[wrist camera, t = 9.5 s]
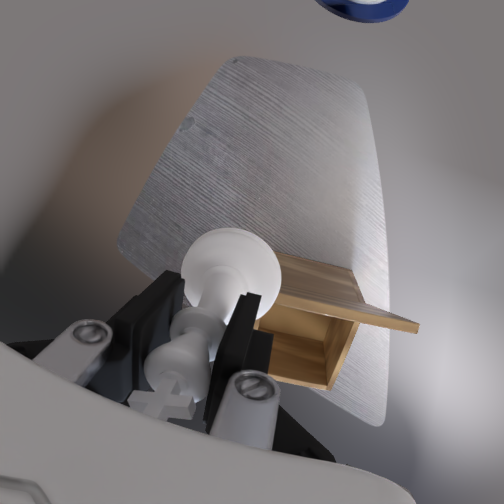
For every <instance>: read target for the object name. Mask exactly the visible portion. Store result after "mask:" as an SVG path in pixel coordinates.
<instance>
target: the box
mask: <svg viewBox="0 0 504 504" xmlns="http://www.w3.org/2000/svg"><path fill="white" fill-rule="evenodd" d="M273 252H274V254H275V255H276V257H277V260H278V262H279V265H280V269H281V284H283V285H287V286H292V287H296V288H300V289H304V290H309V291H313V292H317V293H321V294H326V295H330V296H334V297H339V298H343V299H348V300H352V301H356V302H361V303H365V301H364V298H363V296H362V293H361V291H360V289H359V286H358V284H357V281H356V279H355V277H354V274H353V272H352V270H350V269H346V268H342V267H338V266H333V265H329V264H325V263H321V262H317V261H313V260H309V259H304V258H300V257H296V256H292V255H288V254H284V253H280V252H275V251H273ZM365 304H366V303H365ZM359 324H360V323H359V322H354V321H349V320H345V319H340V318H336V317H331V316H326V315H322V314H318V313H313V312H309V311H304V310H300V309H296V308H291V307H287V306H283V305H279V304H274V303H273V305H272V306H271V308H270V309H269V310H268V311H267V312H266V313H265V314H264V315H263V316H262V317H260V318H259V319H257V320H255V324H254V328H253V329H256V330H260V331H264V332H268V333H272V334H274V338H273V344H272V350H271V357H270V363H269V369H268V375H269V376H271V377H272V378H273V379H275V380H277V381H282V382H287V383H291V384H296V385H301V386H306V387H312V388H317V389H323V390H329V391H331V389H332V387H333V385H334V383H335V380H336V378H337V376H338V374H339V372H340V369H341V367H342V365H343V363H344V360H345V358H346V356H347V353H348V351H349V349H350V346H351V344H352V341H353V339H354V337H355V334H356V332H357V329H358V327H359Z"/></svg>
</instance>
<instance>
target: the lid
mask: <svg viewBox="0 0 504 504" xmlns="http://www.w3.org/2000/svg"><path fill="white" fill-rule="evenodd" d="M274 304H279V305H283V306H287V307H291V308H296V309H300V310H304V311H309V312H313V313H318V314H322V315H326V316H331V317H336V318H340V319H345V320H349V321H354V322H359V323H364V324H369V325H373V326H378V327H383V328H388V329H393V330H398V331H404V332H409V333H415V334H417V333H418V329H419V326H420V324H419V323H416V322H413V321H411V320H408V319H405V318H403V317H400V316H398V315H395V314H392V313H390V312H387V311H385V310H382V309H379V308H377V307H374V306H372V305H369V304H365V303H361V302H356V301H352V300H348V299H343V298H339V297H334V296H330V295H326V294H321V293H317V292H313V291H309V290H304V289H300V288H296V287H292V286H287V285H283V284H281V287H280V291H279V293H278V296H277V298H276V300H275V301H274Z"/></svg>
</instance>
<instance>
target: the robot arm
mask: <svg viewBox="0 0 504 504" xmlns="http://www.w3.org/2000/svg"><path fill="white" fill-rule="evenodd" d="M349 1H352V2H355V3H360V4H378V3H381V2H384V1H386V0H349ZM184 288H185V279H183V278H181V274H179V273H175V272H172V271H168V270H166V271H165V272H164V273H162V274H161V275H160V276H159V277H158V278H157V279H156V280H155V281H154V282H153V283H152V284H151V285H149V286H148V287H147V288H146V289H145V290H144V291H143V292H142V293H141V294H140V295H139V296H137V295H136V296H134V297H133V298H132V299H131V300H130V301H129V302H128V303H126V304H125V305H124V306H123V307H122V308H121V309H120V310H119V311H118V312H117V313H116V314H115V315H114V316H112V317H111V318H110V320H108V321H107V322H106V323H104V322H102V321H98V320H92V319H86V320H80V321H77V322H75V323H74V324H72V325H71V326H70V327H68V328H67V330H65V331H64V332H63V333H62V334H60V335H59V336H58V337H57V338H56V339H51V340H41V341H28V342H15V343H10V344H7V345H5V344H4V343H2V342H1V341H0V504H416V503H415V501H414V498H413V495H412V494H411V493H410V491H409V490H408V489H407V488H405V487H403V486H401V485H398V484H395V483H394V482H391V481H390V480H388V479H386V478H383V477H380V476H378V475H375V474H373V473H370V472H368V471H365V470H361V469H357V468H355V467H352V466H350V465H348V464H346V465H342V464H338V463H336V461H335V458H334V456H333V455H332V454H331V453H330V452H329V450H327V449H326V448H325V447H324V446H323V445H322V444H321V443H320V442H318V441H317V440H316V439H315V438H314V437H313V436H312V435H311V434H310V433H308V432H307V431H306V430H305V429H304V428H303V427H302V426H301V425H300V424H299V423H298V422H297V421H296V420H295V419H293V418H292V417H291V416H290V415H289V414H288V413H287V412H286V411H285V410H284V409H283V408H282V407H281V406H280V405H279V398H280V386H279V385H278V383H277V382H276V380H275V379H273V378H272V377H271V376H269V375H268V369H269V363H270V357H271V350H272V344H273V338H274V334H272V333H268V332H264V331H260V330H256V329H253V328H254V324H255V320H256V316H257V312H258V309H259V305H260V301H261V297H262V295H258V294H254V293H250V292H247V294H246V295H242V294H241V295H240V297H239V299H238V302H237V304H236V306H235V309H234V311H233V314H232V316H231V318H230V321H229V323H228V325H227V328H226V330H225V332H224V335H223V337H222V340H221V342H220V344H219V347H218V350H217V353H216V356H215V360H214V365H213V370H212V376H211V381H210V386H209V391H208V396H207V401H206V406H205V412H204V418H203V423H206V424H207V425H206V432H207V434H208V435H207V434H203V433H200V432H197V431H194V430H190V429H187V428H184V427H181V426H178V425H175V424H172V423H169V422H166V421H164V420H161V419H158V418H155V417H152V416H150V415H147V414H144V413H142V412H139V411H137V410H134V409H132V408H129V407H130V405H129V403H128V401H127V400H128V398H129V397H130V395H131V394H132V392H133V391H134V390H137V391H145V392H147V391H148V389H149V388H150V384H149V383H148V381H147V379H146V377H145V374H144V362H145V359H146V357H147V356H148V354H149V353H150V352H151V351H153V350H154V349H156V348H157V347H159V346H161V345H163V344H165V343H168V342H170V341H171V339H170V326H171V321H172V318H173V317H174V315H175V314H176V313H177V312H179V311H180V310H182V302H183V295H184ZM119 403H121V404H119ZM122 404H124V405H126V406H124V405H122ZM127 406H129V407H127Z"/></svg>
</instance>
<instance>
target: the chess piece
mask: <svg viewBox="0 0 504 504" xmlns="http://www.w3.org/2000/svg"><path fill="white" fill-rule="evenodd" d="M181 278H183V279H185V288H184V293H185V295H186V297H187V299H188V300H189V302H190V303H191V305H192V306H193V307H188V308H184V309H182V310H180V311H179V312H177V313H176V314H175V315H174V317H173V318H172V321H171V326H170V339H171V341H170V342H168V343H165V344H163V345H161V346H159V347H157V348H156V349H154V350H153V351H151V352H150V353H149V354H148V356H147V357H146V359H145V362H144V374H145V377H146V379H147V381H148V383H149V384H150V386H151V387H152V388H153V389H154V390H155V393H154V392H145V391H137V390H134V391H133V392H132V394H131V395H130V397H129V398H128V400H127V401H128V403H129V405H130V408H132V409H134V410H137V411H139V412H142V413H144V414H147V415H150V416H152V417H155V418H158V419H161V420H164V421H167V419H168V417H171V418H180V419H190V420H192V418H193V415H194V413H195V410H196V405H195V402H198V401H200V400H202V399H203V398H205V397H206V396H207V394H208V391H209V386H210V381H211V368H210V364H209V362H210V361H214V360H215V356H216V353H217V350H218V347H219V344H220V342H221V340H222V337H223V335H224V332H225V330H226V328H227V326H226V325H228V323H229V321H230V318H231V316H232V314H233V311H234V309H235V306H236V304H237V302H238V299H239V297H240V295H241V294H242V295H246V294H247V292H250V293H254V294H258V295H262V297H261V301H260V305H259V309H258V312H257V316H256V320H257V319H259V318H260V317H262V316H263V315H264V314H265V313H266V312H267V311H268V310H269V309H270V308H271V306H272V305H273V303H274V301H275V300H276V298H277V296H278V293H279V291H280V287H281V269H280V265H279V262H278V260H277V257H276V255H275V254H274V252H273V251H272V249H271V248H270V247H269V246H268V244H267V243H266V242H264V241H263V240H262V239H261V238H259V237H258V236H256V235H255V234H253V233H251V232H248V231H246V230H243V229H238V228H219V229H215V230H212V231H209V232H207V233H205V234H203V235H202V236H200V237H199V238H198V239H197V240H196V241H195V242H194V243H193V244H192V245H191V247H190V248H189V250H188V252H187V254H186V256H185V258H184V260H183V263H182V268H181Z"/></svg>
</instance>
